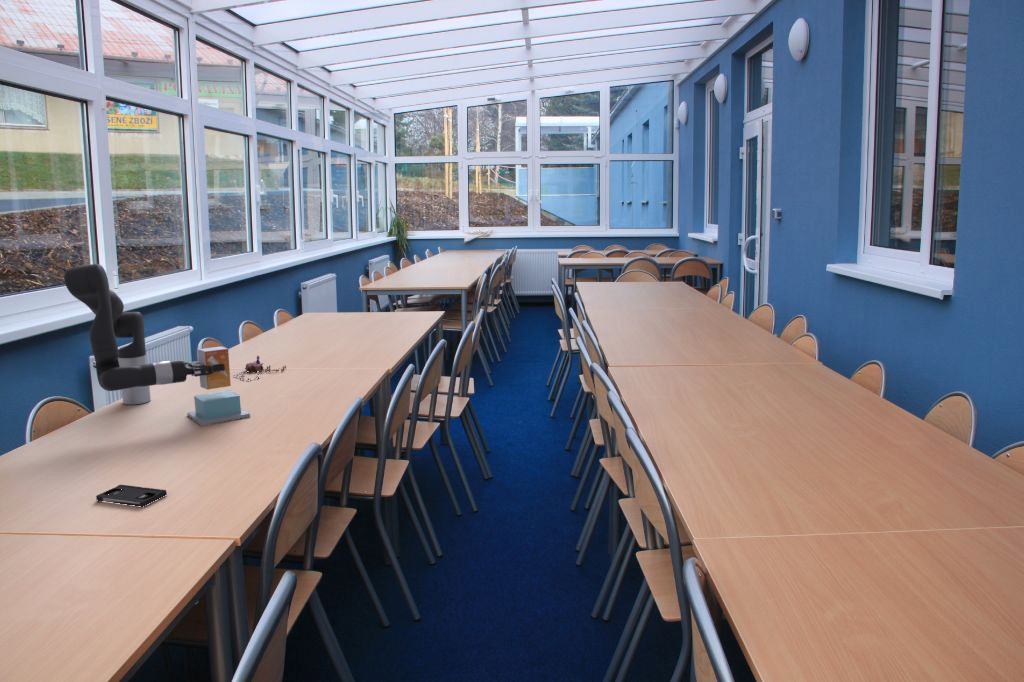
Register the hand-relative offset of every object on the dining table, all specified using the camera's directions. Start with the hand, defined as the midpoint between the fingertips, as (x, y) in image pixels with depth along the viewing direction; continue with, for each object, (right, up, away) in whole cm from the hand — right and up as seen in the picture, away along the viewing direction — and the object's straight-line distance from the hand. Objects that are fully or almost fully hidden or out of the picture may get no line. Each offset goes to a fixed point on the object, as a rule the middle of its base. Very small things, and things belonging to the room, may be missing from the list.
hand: (220, 365), depth 257 cm
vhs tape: (+5, -31, -69) cm, 76 cm away
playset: (-9, -7, +64) cm, 65 cm away
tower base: (-1, -17, +2) cm, 18 cm away
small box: (-2, -7, 0) cm, 8 cm away
